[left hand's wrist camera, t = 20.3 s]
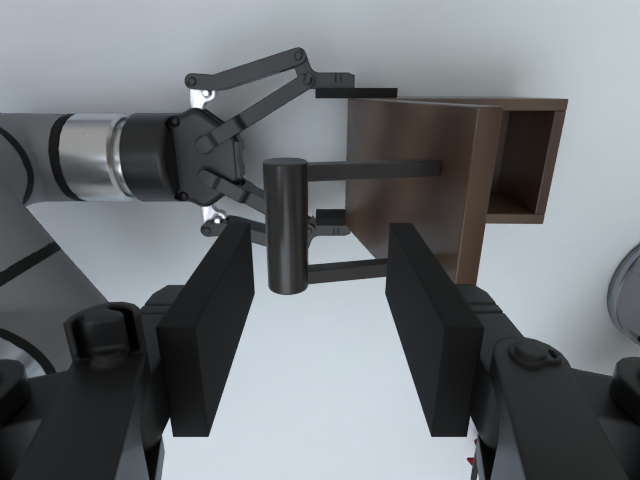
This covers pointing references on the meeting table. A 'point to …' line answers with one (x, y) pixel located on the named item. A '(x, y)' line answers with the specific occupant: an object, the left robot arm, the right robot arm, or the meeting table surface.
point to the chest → (519, 154)
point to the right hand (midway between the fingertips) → (390, 158)
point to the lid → (390, 190)
